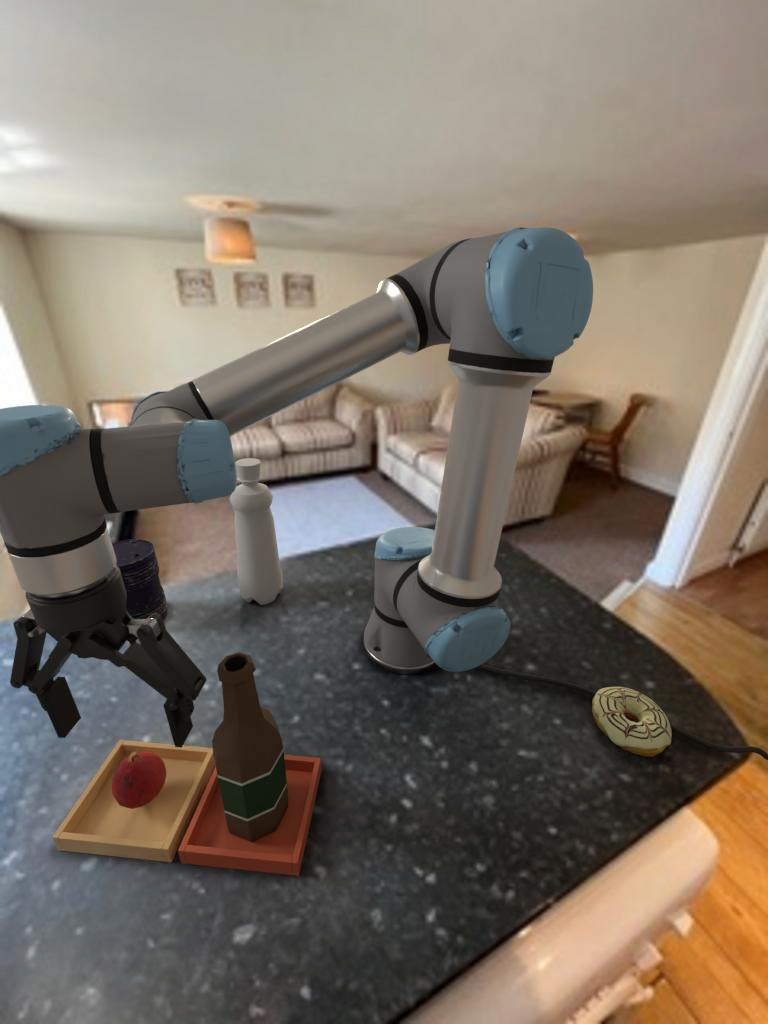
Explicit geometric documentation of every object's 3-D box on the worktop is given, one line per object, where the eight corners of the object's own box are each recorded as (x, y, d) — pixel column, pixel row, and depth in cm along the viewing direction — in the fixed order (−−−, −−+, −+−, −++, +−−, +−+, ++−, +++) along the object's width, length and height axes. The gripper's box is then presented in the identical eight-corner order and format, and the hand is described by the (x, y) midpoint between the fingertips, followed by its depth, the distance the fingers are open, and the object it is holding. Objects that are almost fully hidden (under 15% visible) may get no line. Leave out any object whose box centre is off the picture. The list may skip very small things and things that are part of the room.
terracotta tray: (321, 770, 61) (321, 757, 59) (298, 876, 49) (297, 863, 48) (225, 761, 61) (223, 748, 60) (181, 863, 50) (177, 850, 49)
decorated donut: (612, 762, 63) (618, 744, 61) (577, 700, 72) (582, 683, 71) (682, 758, 64) (691, 740, 62) (638, 698, 73) (645, 681, 72)
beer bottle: (232, 781, 58) (206, 637, 48) (292, 778, 59) (279, 634, 49) (217, 847, 51) (182, 695, 41) (285, 842, 52) (269, 691, 42)
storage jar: (100, 626, 85) (75, 544, 78) (141, 598, 94) (122, 521, 86) (140, 639, 82) (118, 555, 75) (179, 609, 91) (163, 530, 83)
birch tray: (217, 760, 61) (215, 748, 60) (171, 862, 50) (167, 849, 49) (123, 751, 62) (119, 739, 61) (58, 850, 51) (51, 837, 50)
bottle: (231, 604, 93) (212, 467, 80) (252, 580, 101) (237, 452, 88) (272, 611, 91) (259, 472, 78) (290, 586, 99) (281, 457, 86)
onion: (150, 827, 53) (136, 784, 50) (108, 816, 54) (91, 773, 50) (180, 781, 58) (169, 738, 55) (140, 772, 59) (127, 729, 56)
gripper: (218, 561, 44) (245, 712, 54) (-17, 549, 46) (47, 697, 55) (182, 608, 38) (219, 772, 47) (-93, 592, 39) (-5, 753, 48)
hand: (126, 732), depth 51 cm, fingers open, 13 cm apart
